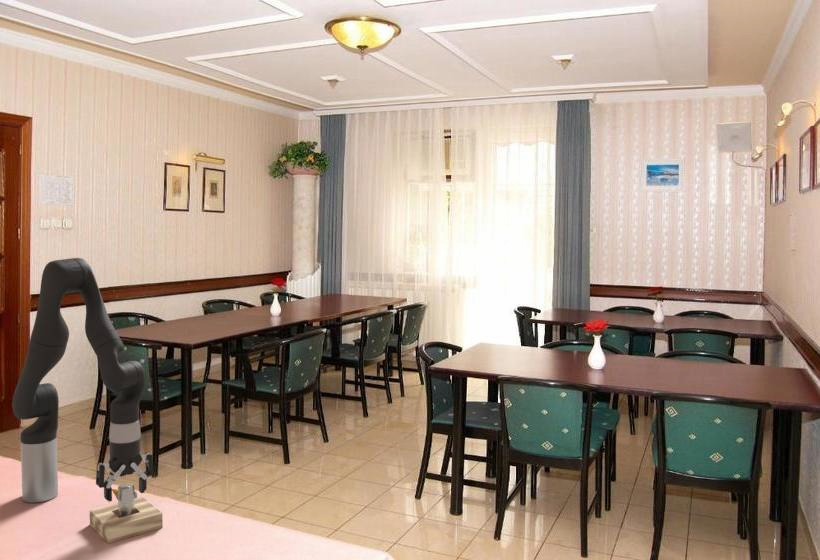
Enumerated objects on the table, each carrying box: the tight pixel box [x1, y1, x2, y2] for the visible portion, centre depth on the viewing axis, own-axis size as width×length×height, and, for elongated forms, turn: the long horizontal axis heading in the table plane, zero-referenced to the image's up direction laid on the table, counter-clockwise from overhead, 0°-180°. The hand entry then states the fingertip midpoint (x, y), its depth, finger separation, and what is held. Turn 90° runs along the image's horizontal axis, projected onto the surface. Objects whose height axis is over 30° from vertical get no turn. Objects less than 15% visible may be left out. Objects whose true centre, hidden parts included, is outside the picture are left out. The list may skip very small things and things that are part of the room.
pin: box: [117, 482, 135, 518], centre depth 182 cm, size 4×4×10 cm
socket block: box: [89, 496, 164, 544], centre depth 182 cm, size 14×14×4 cm
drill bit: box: [112, 488, 138, 500], centre depth 193 cm, size 5×5×10 cm
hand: (125, 496), depth 182 cm, fingers open, 8 cm apart
